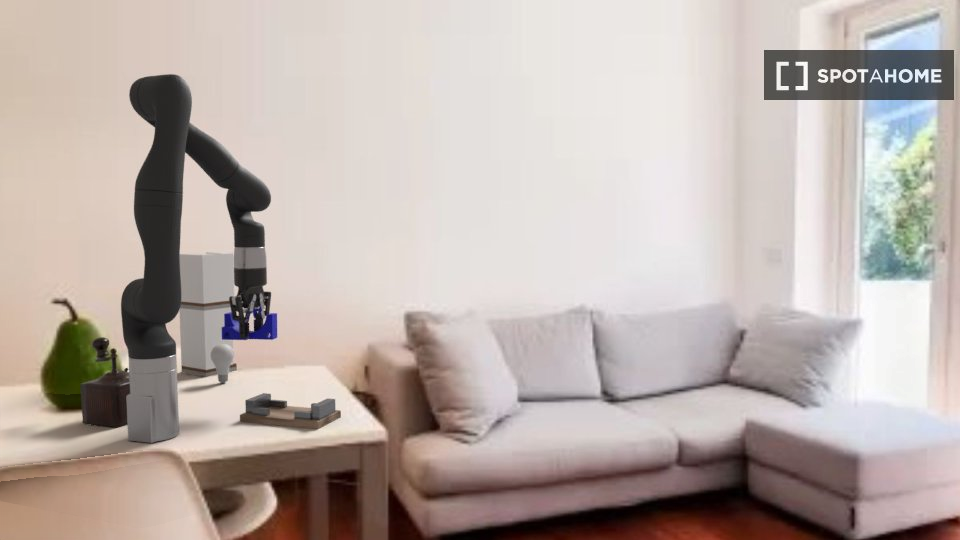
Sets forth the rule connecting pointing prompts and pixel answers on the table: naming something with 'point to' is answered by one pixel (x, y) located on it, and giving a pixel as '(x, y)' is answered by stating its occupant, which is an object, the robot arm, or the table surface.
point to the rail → (289, 412)
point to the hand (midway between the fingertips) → (251, 336)
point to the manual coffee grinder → (106, 392)
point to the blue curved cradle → (232, 331)
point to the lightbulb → (222, 360)
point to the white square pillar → (204, 309)
